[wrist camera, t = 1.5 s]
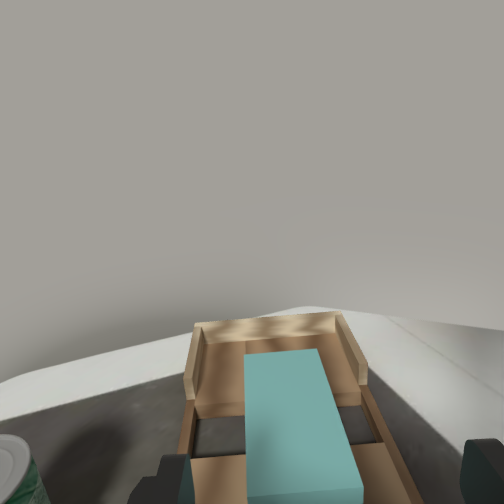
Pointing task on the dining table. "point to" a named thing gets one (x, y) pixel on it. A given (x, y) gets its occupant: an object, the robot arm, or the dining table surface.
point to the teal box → (295, 433)
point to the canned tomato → (19, 473)
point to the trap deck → (233, 399)
